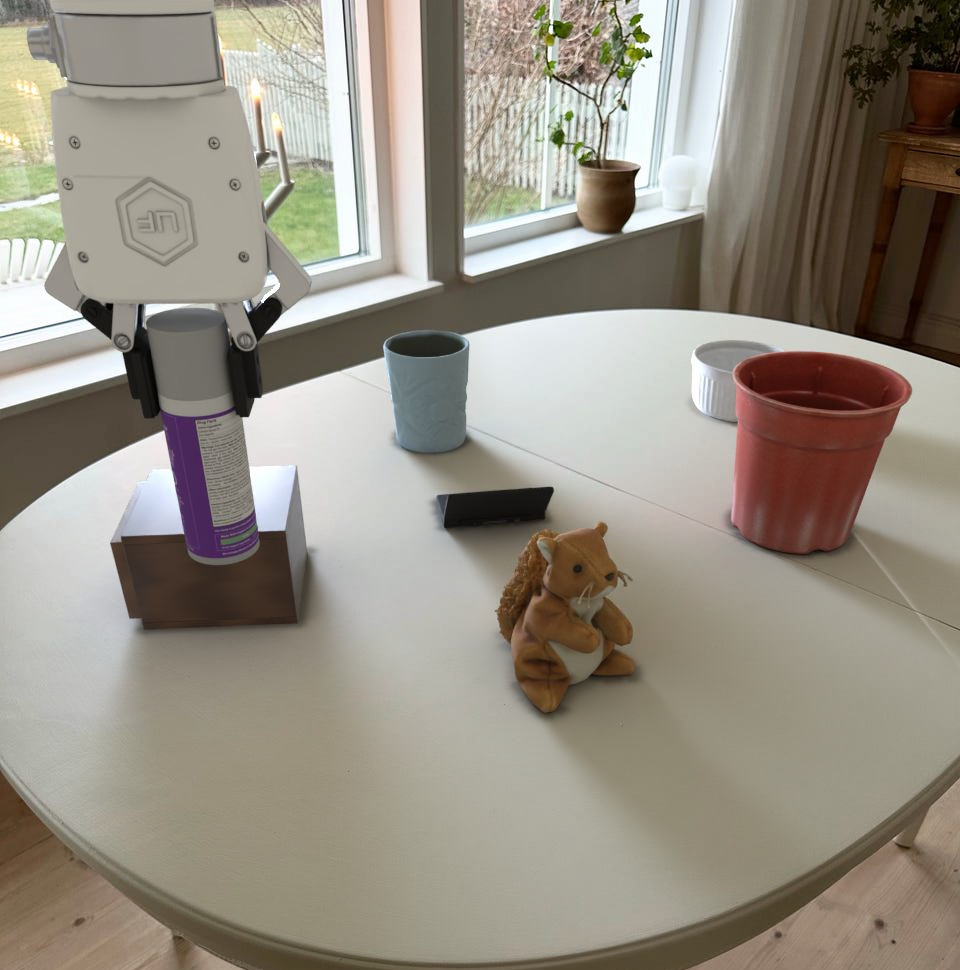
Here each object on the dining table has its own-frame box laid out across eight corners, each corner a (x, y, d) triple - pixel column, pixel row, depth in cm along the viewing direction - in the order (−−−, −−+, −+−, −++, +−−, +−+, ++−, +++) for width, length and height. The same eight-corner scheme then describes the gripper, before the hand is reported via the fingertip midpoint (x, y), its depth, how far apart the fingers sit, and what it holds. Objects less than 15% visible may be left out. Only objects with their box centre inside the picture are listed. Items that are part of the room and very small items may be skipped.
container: (174, 544, 63) (129, 317, 54) (237, 522, 66) (203, 301, 57) (209, 573, 61) (167, 338, 52) (273, 549, 63) (243, 321, 54)
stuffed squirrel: (547, 723, 75) (555, 581, 67) (463, 632, 85) (462, 499, 77) (649, 685, 79) (669, 547, 71) (557, 602, 89) (565, 473, 81)
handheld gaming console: (524, 472, 107) (538, 429, 97) (547, 529, 105) (563, 492, 96) (427, 501, 105) (431, 460, 95) (448, 560, 103) (455, 524, 94)
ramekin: (805, 406, 127) (815, 354, 123) (756, 436, 119) (767, 382, 115) (717, 381, 134) (725, 332, 130) (666, 409, 126) (672, 357, 122)
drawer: (115, 619, 85) (95, 543, 80) (142, 553, 94) (125, 482, 89) (271, 613, 86) (260, 537, 81) (282, 548, 95) (273, 477, 90)
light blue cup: (452, 461, 113) (450, 362, 106) (374, 448, 116) (368, 351, 109) (481, 428, 121) (481, 334, 114) (408, 417, 124) (404, 324, 117)
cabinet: (143, 630, 85) (120, 536, 79) (169, 557, 95) (150, 469, 89) (298, 624, 86) (285, 530, 80) (307, 552, 96) (297, 465, 90)
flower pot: (685, 498, 106) (706, 355, 96) (821, 484, 108) (854, 344, 99) (749, 575, 93) (780, 419, 83) (902, 558, 95) (949, 404, 86)
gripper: (-66, 62, 43) (37, 437, 54) (310, 66, 44) (339, 433, 55) (-9, 48, 49) (74, 387, 60) (321, 51, 50) (345, 384, 61)
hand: (200, 406), depth 57 cm, fingers closed on container, 4 cm apart
